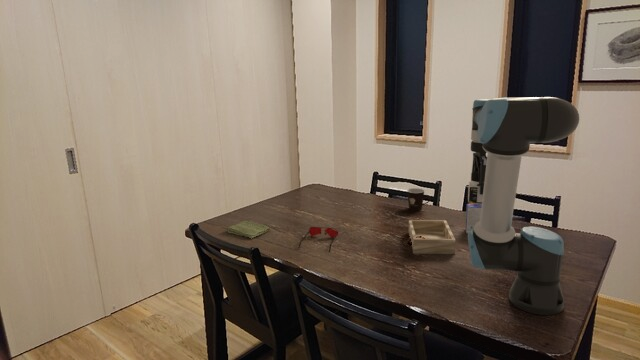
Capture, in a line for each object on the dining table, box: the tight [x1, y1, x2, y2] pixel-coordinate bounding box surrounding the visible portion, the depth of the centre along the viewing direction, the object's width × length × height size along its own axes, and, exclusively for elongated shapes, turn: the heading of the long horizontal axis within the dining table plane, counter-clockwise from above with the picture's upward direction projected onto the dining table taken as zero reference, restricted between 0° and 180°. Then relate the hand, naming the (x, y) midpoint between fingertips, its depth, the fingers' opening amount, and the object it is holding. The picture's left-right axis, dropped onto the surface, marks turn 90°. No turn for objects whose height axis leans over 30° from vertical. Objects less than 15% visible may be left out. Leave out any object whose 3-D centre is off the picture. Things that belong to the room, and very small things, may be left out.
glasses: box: [297, 226, 340, 253], centre depth 181 cm, size 14×16×5 cm
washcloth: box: [226, 220, 271, 240], centre depth 197 cm, size 13×18×3 cm
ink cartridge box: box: [464, 203, 482, 234], centre depth 186 cm, size 10×6×14 cm, turn 78°
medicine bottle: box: [467, 171, 482, 204], centre depth 164 cm, size 7×7×12 cm
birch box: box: [408, 219, 456, 255], centre depth 177 cm, size 22×16×6 cm
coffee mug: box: [406, 187, 431, 212], centre depth 217 cm, size 12×9×10 cm
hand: (478, 198), depth 165 cm, fingers closed on medicine bottle, 8 cm apart
